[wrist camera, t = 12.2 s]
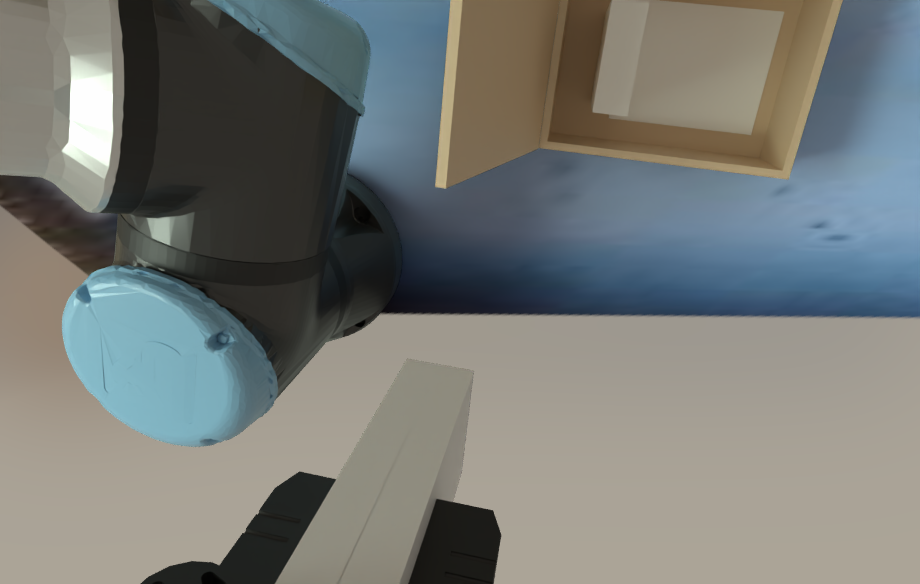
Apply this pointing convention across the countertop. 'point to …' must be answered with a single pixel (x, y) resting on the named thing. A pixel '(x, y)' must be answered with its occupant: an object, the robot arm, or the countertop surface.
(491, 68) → the lid
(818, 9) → the base
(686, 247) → the countertop surface
